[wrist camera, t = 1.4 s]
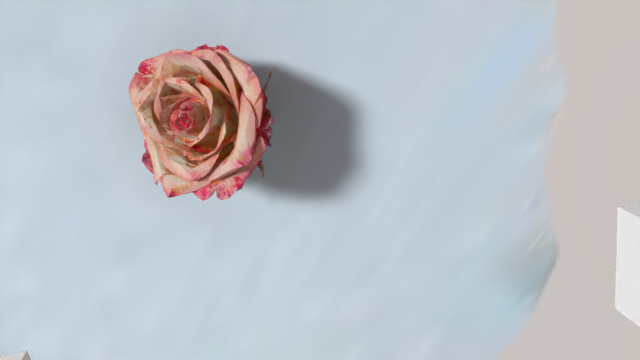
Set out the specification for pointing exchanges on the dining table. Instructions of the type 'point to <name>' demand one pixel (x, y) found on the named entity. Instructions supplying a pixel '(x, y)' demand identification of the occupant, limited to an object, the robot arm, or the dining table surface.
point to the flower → (201, 120)
